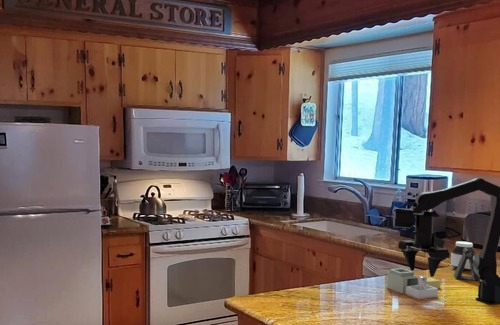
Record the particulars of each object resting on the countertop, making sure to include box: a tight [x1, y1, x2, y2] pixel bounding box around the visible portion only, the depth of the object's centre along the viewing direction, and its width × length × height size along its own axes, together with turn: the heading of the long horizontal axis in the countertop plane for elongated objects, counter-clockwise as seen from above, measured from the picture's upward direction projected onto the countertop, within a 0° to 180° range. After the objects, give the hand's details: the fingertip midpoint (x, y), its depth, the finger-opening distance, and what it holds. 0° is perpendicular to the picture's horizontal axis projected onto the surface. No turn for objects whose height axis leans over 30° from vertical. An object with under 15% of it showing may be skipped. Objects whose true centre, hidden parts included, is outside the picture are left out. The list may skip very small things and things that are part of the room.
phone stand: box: [453, 248, 481, 282], centre depth 203 cm, size 9×6×12 cm, turn 75°
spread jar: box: [450, 240, 477, 272], centre depth 222 cm, size 12×11×12 cm
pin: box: [417, 275, 428, 290], centre depth 175 cm, size 3×3×6 cm
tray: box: [405, 285, 439, 300], centre depth 175 cm, size 6×9×3 cm, turn 116°
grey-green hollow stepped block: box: [386, 267, 418, 294], centre depth 183 cm, size 8×9×7 cm
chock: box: [427, 277, 441, 289], centre depth 188 cm, size 5×6×3 cm
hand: (421, 273), depth 175 cm, fingers open, 9 cm apart
